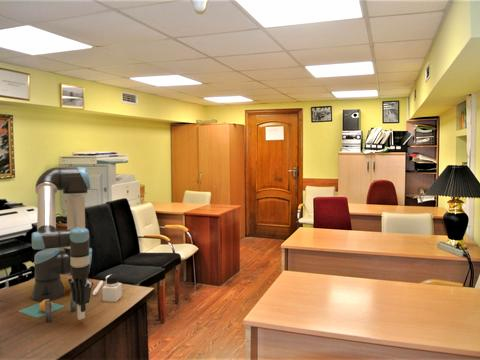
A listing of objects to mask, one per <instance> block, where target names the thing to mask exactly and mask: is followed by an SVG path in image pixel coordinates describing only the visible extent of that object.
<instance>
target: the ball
mask: <svg viewBox="0 0 480 360" xmlns="http://www.w3.org/2000/svg"><path fill="white" fill-rule="evenodd" d="M47 300H49V299H46V300H43V301H40V302H41V303H40V302H39V303H40V310H41V311H43V312H45V301H47ZM53 303H54V302H52V307H53Z"/></svg>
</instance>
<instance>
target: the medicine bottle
mask: <svg viewBox="0 0 480 360" xmlns="http://www.w3.org/2000/svg"><path fill="white" fill-rule="evenodd" d="M101 288H102V289H101V291H102V292H101V293H102V295H101V296H102V302H106V303H107V302H111V303H116V302H118V301H119V299H121V298H122V297H123V289H122V288H123V283H122V282H119V275H117V274H116V273H115V274H109V275H107V276H105V284H104V286H101Z"/></svg>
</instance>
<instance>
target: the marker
mask: <svg viewBox="0 0 480 360" xmlns="http://www.w3.org/2000/svg"><path fill="white" fill-rule="evenodd" d="M103 284H104V281H103V280H99V282H98V283H97V285H96V287H95V288H94V290H93V291H92V292H91V295H92V296H96V295H97V294H98V292H99V291H100V289H101V288H102V287H103Z"/></svg>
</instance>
